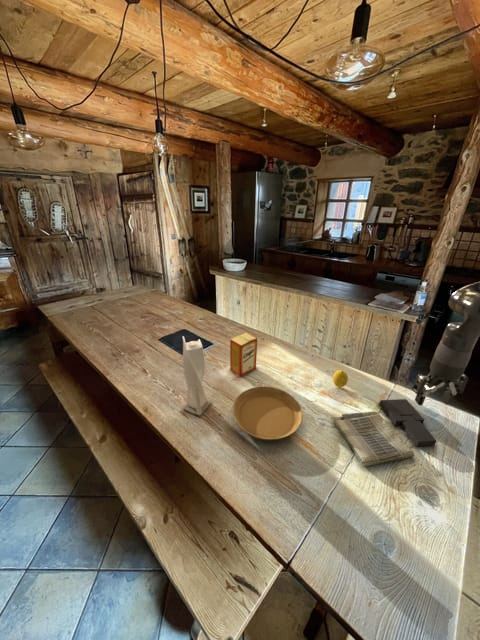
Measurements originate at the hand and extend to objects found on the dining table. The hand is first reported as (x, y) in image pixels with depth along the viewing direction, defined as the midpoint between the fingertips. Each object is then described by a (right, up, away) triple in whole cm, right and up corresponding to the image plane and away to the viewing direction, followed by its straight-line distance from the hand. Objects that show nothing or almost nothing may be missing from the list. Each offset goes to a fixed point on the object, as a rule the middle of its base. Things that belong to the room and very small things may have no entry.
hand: (431, 402), depth 81 cm
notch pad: (-1, -9, +14) cm, 16 cm away
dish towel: (-17, -13, +5) cm, 22 cm away
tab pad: (-1, -12, +7) cm, 14 cm away
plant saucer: (-49, -9, +12) cm, 52 cm away
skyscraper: (-75, -6, +17) cm, 77 cm away
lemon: (-19, -2, +27) cm, 33 cm away
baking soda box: (-57, +3, +37) cm, 68 cm away
